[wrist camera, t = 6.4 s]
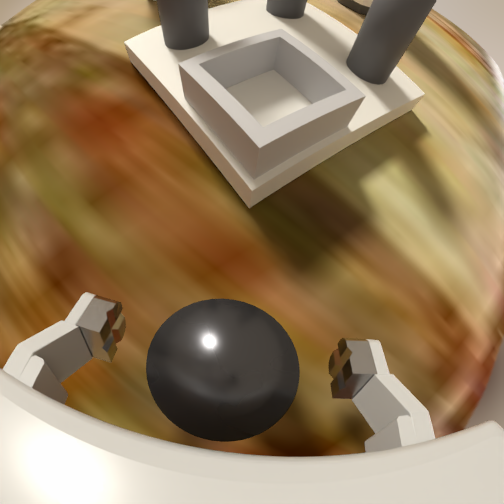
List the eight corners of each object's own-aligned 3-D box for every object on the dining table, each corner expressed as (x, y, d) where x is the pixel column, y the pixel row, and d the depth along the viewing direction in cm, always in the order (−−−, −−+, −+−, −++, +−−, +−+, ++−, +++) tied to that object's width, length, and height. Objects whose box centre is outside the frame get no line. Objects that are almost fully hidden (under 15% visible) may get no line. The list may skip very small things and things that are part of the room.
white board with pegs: (249, 208, 16) (279, 37, 5) (130, 61, 18) (100, -40, 7) (411, 109, 19) (478, 27, 8) (285, 9, 21) (301, -70, 10)
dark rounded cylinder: (192, 360, 14) (141, 424, 5) (201, 298, 15) (157, 285, 6) (255, 370, 14) (284, 447, 5) (265, 309, 15) (310, 311, 6)
